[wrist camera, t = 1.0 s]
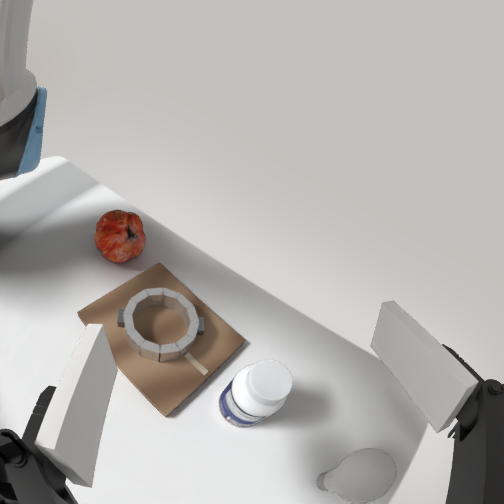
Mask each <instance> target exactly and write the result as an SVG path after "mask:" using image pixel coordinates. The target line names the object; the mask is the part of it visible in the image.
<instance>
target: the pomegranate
mask: <svg viewBox="0 0 504 504" xmlns="http://www.w3.org/2000/svg"><path fill="white" fill-rule="evenodd" d="M94 240H95V243H96V246H97V248H98V249H99V250H100V251H101V253H102V254H103V256H104V257H105V258H106V259H108V260H110V261H113V262H117V263H121V262H125V261H127V260H129V259H130V258H132V257H136V256H138V255H139V254H140V253H141V251H142V250H143V248H144V246H145V234H144V232H143V225H142V221H141V219H140V218H139V216H138V215H136V214H135V213H132V212H128V213H127V212H125V211H121V210H113V211H109V212H107V213H106V214H104V215H103V216H102V217H101V218H100V220H99V222H98V223H97V226H96V233H95V235H94Z"/></svg>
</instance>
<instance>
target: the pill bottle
mask: <svg viewBox="0 0 504 504" xmlns="http://www.w3.org/2000/svg"><path fill="white" fill-rule="evenodd" d="M292 384H293V380H292V376H291V373H290V372H289V370H288V369H287V368H286V366H284V365H283V364H282V363H280V362H278V361H276V360H271V359H266V360H262V361H259V362H258V363H256V364H253V365H249V366H247V367H245V368H243V369H242V370H241V371H239V372H238V373H237V375H236V376H235V377H234V378H233V380H232V381H231V382H230V383H229V385H228V386H227V387H226V388H225V390H224V391H223V392H222V394H221V396H220V398H219V402H218V407H219V411H220V414H221V416H222V417H223V418H224V420H225V421H227V422H228V423H229V424H231V425H233V426H236V427H249V426H252V425H254V424H256V423H258V422H260V421H261V420H263V419H265V418H266V417H268V416H270V415H272V414H273V413H275V412H276V411H278V410H279V409H280V408H281V407H282V406H283V404H284V403H285V400H286V397H287V395H288V394H289V393H290V391H291V389H292Z"/></svg>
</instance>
